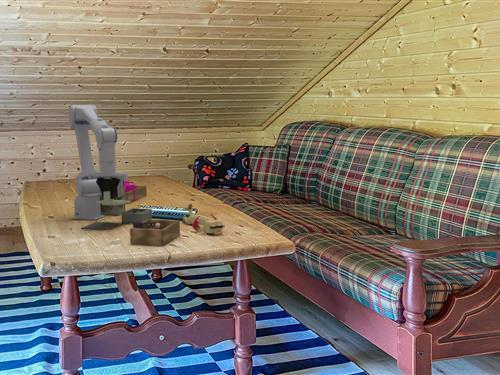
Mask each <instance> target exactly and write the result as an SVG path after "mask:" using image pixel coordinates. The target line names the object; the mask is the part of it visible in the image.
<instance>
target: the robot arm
mask: <svg viewBox="0 0 500 375" xmlns="http://www.w3.org/2000/svg"><path fill="white" fill-rule="evenodd" d="M67 114H68V115H67V116H68V123H69V127H70V128H71V129H72V130H74V132H75V133H74V134H75V138H76V144H77V150H78V151H77V152H78V157H79V162H80V163H79V164H80V169H81V171H80V172H79V173H78V174H77V175H76V176H75V180H74V181H75V192H76V194H78V195H76V196H75V198H74V201H73V206H74V209H73V210H74V217H73V219H74V220H92V221H97V220H100V219H101V218H104V217H106V215H102V214H101V208H100V203H96V201H100V195H101V193H102V197H103V199H104V192H107V182H109V186H110V197H111V199H114V198H115V194H116V190H117V187H118V184H119V182H120V179H124V181H125V180H128V179H129V174H128V173H124V172H123V173H122V172H117V169H116V168H117V163H116V162H117V161H116V143H117V142H118V131H117V129H116V127H115V126H112V127H111V126H109V125H108V124H107V122H106V121H105V120H104V119H103V118H102V117H99V116H98V108H97V106H96V105H95V104H71V105H70V106H68V112H67ZM89 130H90V131H92V133H93V134H94V136H95V142H96V147H97V148H96V149H98V163H99V166H98V168H99V170H96V169H95V166H94V159H93V153H92V148H91V142H90V141H91V140H90V136H89ZM108 179H111V180H108Z"/></svg>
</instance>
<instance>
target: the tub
mask: <svg viewBox="0 0 500 375" xmlns="http://www.w3.org/2000/svg"><path fill="white" fill-rule="evenodd" d="M138 211H140V212H141V213H136V212H138ZM152 212H153V210H152V208H143V207H140V208H139V207H131V208H129V209H127V210H125V211H124V212H122V213H121V214H120V215H121V216H120V218H121V224H126V225H127V224H128V225H129V224H130V225H133V223H142V222H144V221H146V220H148V219H151V218H152V219H153V213H152Z"/></svg>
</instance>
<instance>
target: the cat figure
mask: <svg viewBox="0 0 500 375" xmlns="http://www.w3.org/2000/svg"><path fill="white" fill-rule="evenodd" d="M192 209H193V204H192V203H188V206H187V212H188V214H189V216H188V217H187V216H183V217H182V218H183V220H181V223H182V224H185V225H187V224H189V225H192V228H193V230H194V231H196V232H199V231H203V234H208V235H209V234H214V235H221V234H220V233H222V231H223V229H224V228H225V227H226V225H225V224H223V223H222V221H221V220H218V218H217V217H215V215H213V214H209V215H210V216H211V217H212V218H213V219H212V218H211V217H208V216H207V215H201V214H194V213H193V210H192ZM198 225H200V226H199V229H198Z"/></svg>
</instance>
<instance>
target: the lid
mask: <svg viewBox="0 0 500 375" xmlns="http://www.w3.org/2000/svg"><path fill="white" fill-rule="evenodd" d="M96 203H102V205H124V204H125V203H129V204H131V203H130V201H124V200H114V199H111V197H110V191H107V192H104V200H103V201H96ZM125 205H126V204H125Z"/></svg>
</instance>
